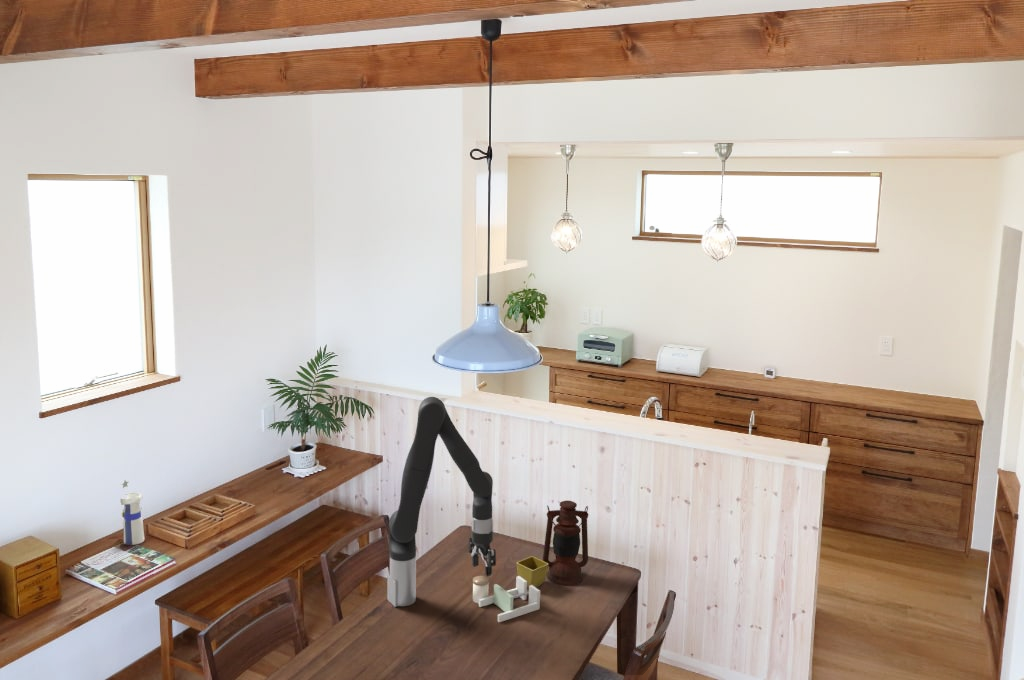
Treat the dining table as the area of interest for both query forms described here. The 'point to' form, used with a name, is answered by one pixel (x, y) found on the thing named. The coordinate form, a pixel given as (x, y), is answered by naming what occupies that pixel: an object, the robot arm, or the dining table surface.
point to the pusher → (505, 598)
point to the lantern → (566, 544)
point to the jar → (480, 588)
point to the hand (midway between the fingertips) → (481, 570)
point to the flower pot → (532, 571)
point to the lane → (520, 588)
